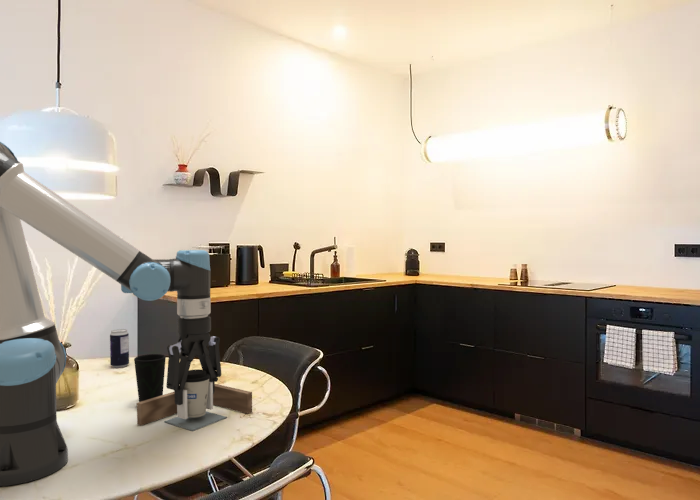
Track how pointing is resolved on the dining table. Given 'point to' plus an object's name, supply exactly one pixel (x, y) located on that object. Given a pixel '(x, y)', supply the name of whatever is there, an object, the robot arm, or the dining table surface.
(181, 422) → the pad
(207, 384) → the coffee cup
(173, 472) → the dining table surface
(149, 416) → the corner wall
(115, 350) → the beverage can
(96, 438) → the dining table surface
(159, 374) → the cup
